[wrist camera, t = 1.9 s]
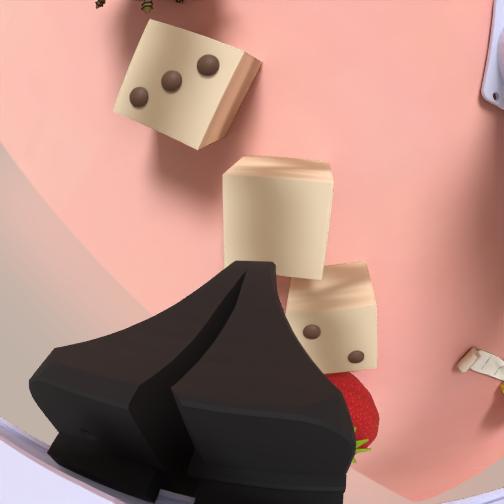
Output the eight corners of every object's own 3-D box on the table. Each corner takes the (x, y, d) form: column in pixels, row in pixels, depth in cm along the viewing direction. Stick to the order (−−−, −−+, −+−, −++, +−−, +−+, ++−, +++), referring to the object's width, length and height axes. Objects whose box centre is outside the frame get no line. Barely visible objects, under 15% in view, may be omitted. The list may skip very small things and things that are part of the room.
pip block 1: (262, 62, 16) (244, 51, 12) (225, 136, 19) (196, 150, 14) (186, 33, 16) (146, 18, 11) (155, 104, 18) (109, 110, 14)
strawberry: (326, 402, 28) (319, 497, 19) (286, 353, 25) (267, 461, 17) (385, 382, 25) (394, 482, 17) (353, 327, 23) (359, 443, 14)
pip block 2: (365, 260, 21) (376, 306, 16) (369, 318, 23) (377, 369, 18) (290, 269, 22) (282, 317, 17) (302, 326, 24) (297, 377, 20)
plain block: (328, 161, 18) (333, 183, 14) (321, 238, 20) (321, 279, 16) (244, 155, 19) (222, 174, 15) (243, 231, 21) (224, 269, 17)
